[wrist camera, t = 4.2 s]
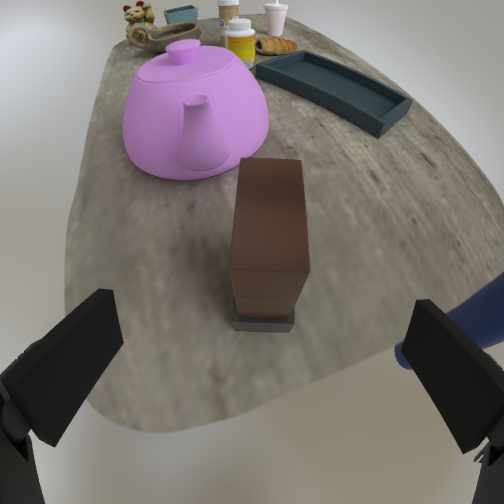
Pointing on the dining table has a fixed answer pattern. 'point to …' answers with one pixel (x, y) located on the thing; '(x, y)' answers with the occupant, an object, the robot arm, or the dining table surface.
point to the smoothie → (275, 17)
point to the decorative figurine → (139, 19)
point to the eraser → (268, 244)
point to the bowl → (164, 35)
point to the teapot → (193, 113)
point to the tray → (337, 89)
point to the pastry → (275, 46)
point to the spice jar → (226, 16)
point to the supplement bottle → (241, 40)
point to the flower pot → (181, 14)
